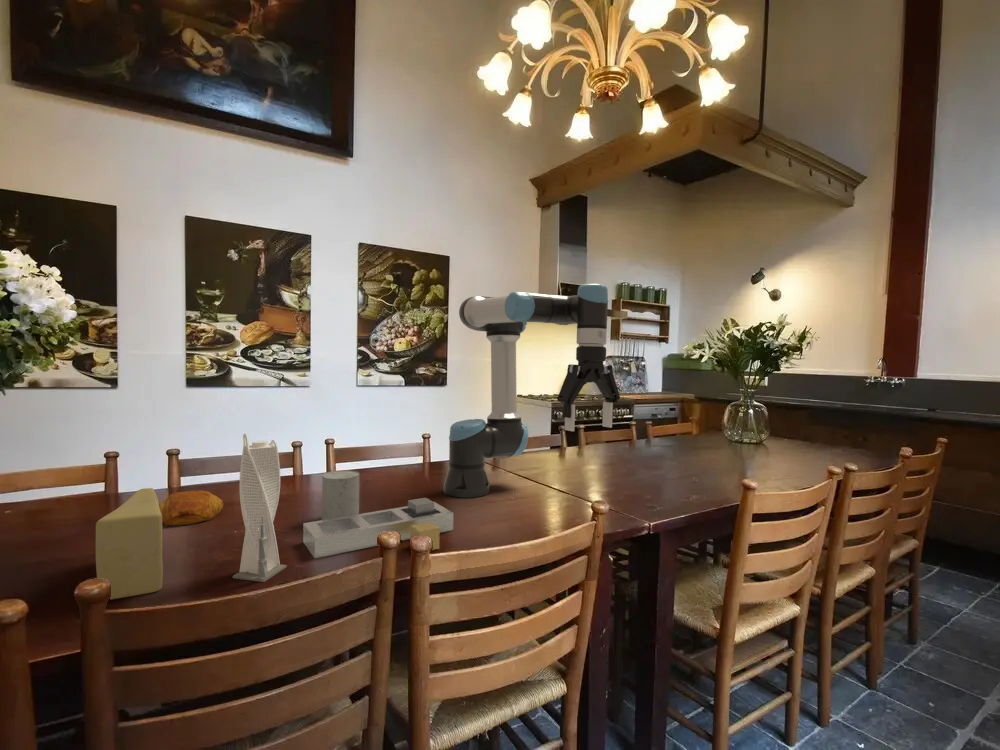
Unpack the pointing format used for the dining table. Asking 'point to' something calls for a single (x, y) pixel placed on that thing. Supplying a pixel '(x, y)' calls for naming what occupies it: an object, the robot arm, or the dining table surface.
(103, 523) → the cheese
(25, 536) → the dining table surface
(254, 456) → the skyscraper
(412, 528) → the tan foam cube
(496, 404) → the robot arm
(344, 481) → the grey flat-topped mottled cylinder
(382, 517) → the tray
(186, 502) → the croissant
